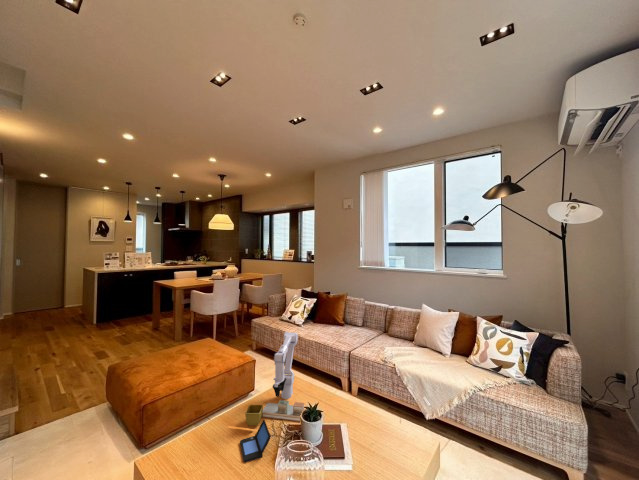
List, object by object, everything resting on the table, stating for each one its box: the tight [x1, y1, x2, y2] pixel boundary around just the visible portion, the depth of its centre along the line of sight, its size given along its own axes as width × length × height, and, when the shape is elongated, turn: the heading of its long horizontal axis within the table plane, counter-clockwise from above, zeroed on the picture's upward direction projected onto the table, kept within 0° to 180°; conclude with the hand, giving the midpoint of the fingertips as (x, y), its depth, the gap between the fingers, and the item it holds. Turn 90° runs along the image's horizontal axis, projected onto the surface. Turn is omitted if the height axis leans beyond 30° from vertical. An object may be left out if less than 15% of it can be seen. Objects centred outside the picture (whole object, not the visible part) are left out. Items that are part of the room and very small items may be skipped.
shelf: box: [261, 402, 301, 422], centre depth 168 cm, size 15×30×3 cm, turn 79°
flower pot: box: [244, 404, 264, 427], centre depth 158 cm, size 9×9×9 cm
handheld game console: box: [239, 419, 271, 463], centre depth 138 cm, size 16×13×9 cm
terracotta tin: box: [293, 401, 305, 416], centre depth 165 cm, size 4×6×6 cm
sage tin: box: [277, 399, 290, 414], centre depth 168 cm, size 4×6×6 cm
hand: (279, 393), depth 172 cm, fingers open, 7 cm apart
